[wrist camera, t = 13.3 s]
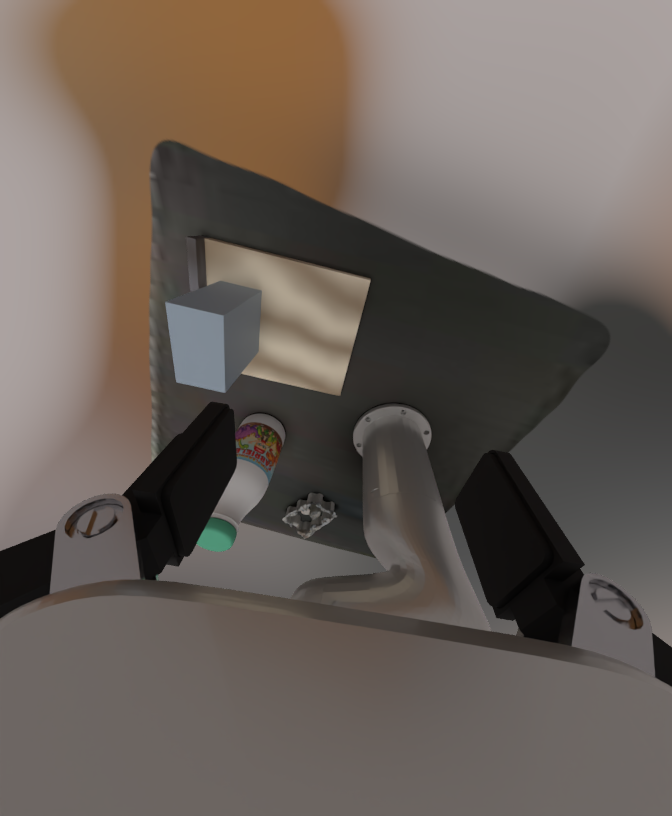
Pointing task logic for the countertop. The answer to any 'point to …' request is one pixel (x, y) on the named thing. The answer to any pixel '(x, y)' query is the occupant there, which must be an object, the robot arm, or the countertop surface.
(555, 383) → the countertop surface
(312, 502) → the egg carton
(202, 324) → the carton
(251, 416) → the milk bottle
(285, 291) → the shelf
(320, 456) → the countertop surface
